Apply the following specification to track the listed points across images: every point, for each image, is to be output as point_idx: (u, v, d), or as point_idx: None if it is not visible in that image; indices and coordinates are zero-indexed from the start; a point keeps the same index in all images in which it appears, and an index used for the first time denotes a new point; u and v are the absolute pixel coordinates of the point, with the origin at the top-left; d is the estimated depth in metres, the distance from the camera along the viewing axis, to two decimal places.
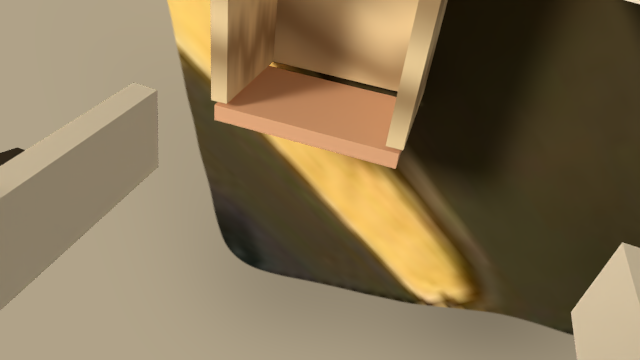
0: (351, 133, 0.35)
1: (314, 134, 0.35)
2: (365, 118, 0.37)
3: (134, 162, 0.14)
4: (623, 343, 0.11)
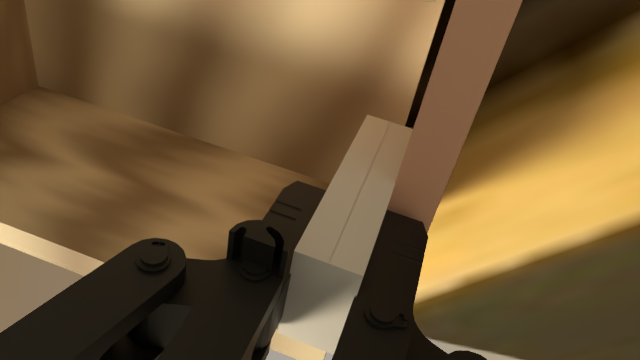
0: None
1: (399, 202, 0.13)
2: None
3: None
4: None
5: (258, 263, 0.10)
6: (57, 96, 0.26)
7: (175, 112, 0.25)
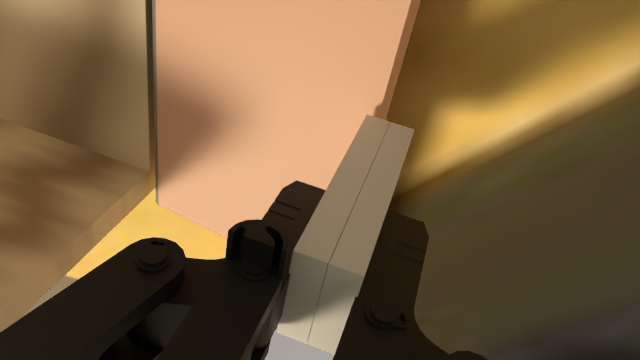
0: (360, 44, 0.15)
1: None
2: (283, 6, 0.15)
3: None
4: None
5: (257, 263, 0.10)
6: None
7: None
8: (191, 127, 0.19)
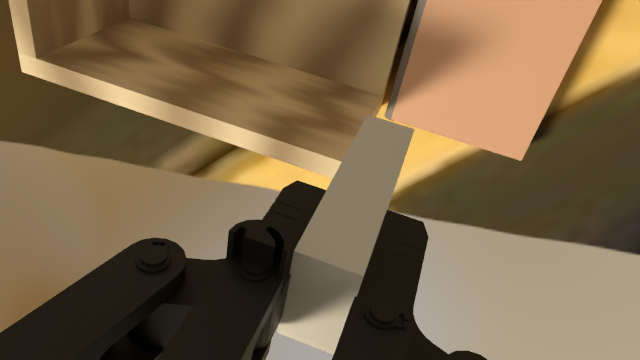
0: None
1: (579, 44, 0.27)
2: None
3: None
4: None
5: (258, 263, 0.10)
6: (145, 24, 0.35)
7: (233, 33, 0.34)
8: (438, 58, 0.30)
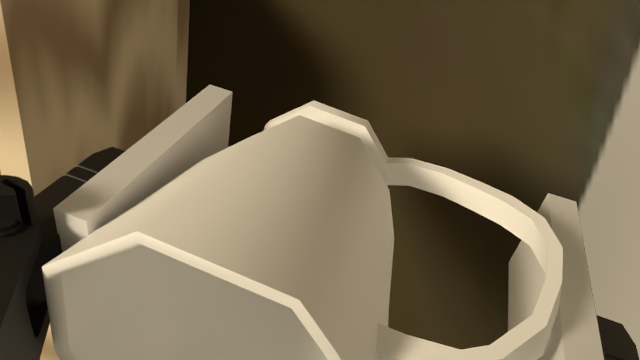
0: None
1: None
2: None
3: None
4: (539, 277, 0.12)
5: (5, 218, 0.10)
6: None
7: None
8: None
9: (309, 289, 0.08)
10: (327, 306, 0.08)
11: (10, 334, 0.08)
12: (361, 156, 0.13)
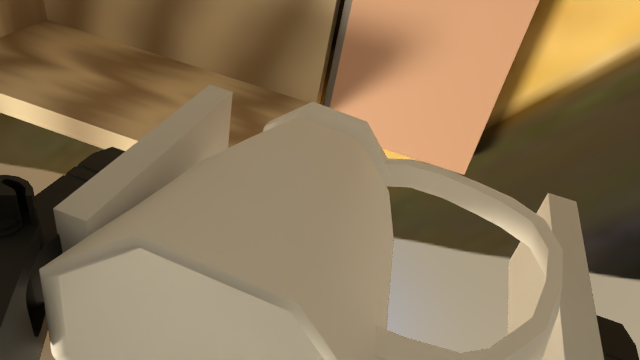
0: None
1: (518, 48, 0.25)
2: None
3: None
4: (539, 277, 0.12)
5: (5, 218, 0.10)
6: (62, 27, 0.33)
7: (155, 37, 0.31)
8: (369, 64, 0.27)
9: (308, 292, 0.08)
10: (326, 309, 0.08)
11: (10, 334, 0.08)
12: (360, 157, 0.13)
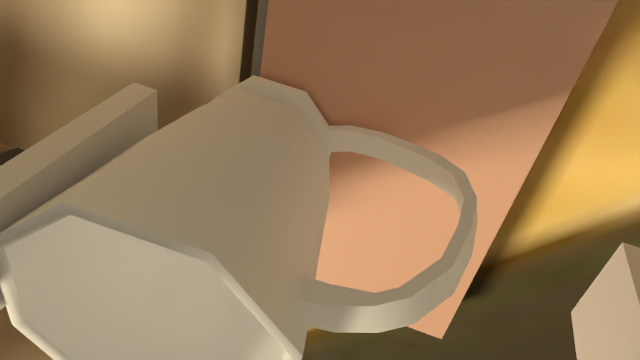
0: (520, 99, 0.14)
1: (522, 178, 0.15)
2: (429, 61, 0.14)
3: None
4: (623, 343, 0.11)
5: None
6: None
7: None
8: None
9: (224, 244, 0.09)
10: (244, 260, 0.09)
11: None
12: (295, 125, 0.13)
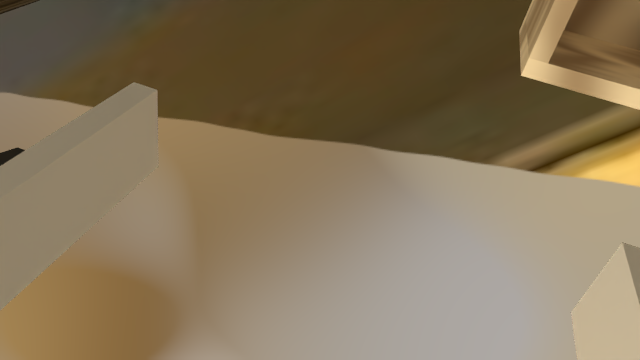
0: None
1: None
2: None
3: (134, 162, 0.14)
4: (623, 343, 0.11)
5: None
6: None
7: None
8: None
9: None
10: None
11: None
12: None
